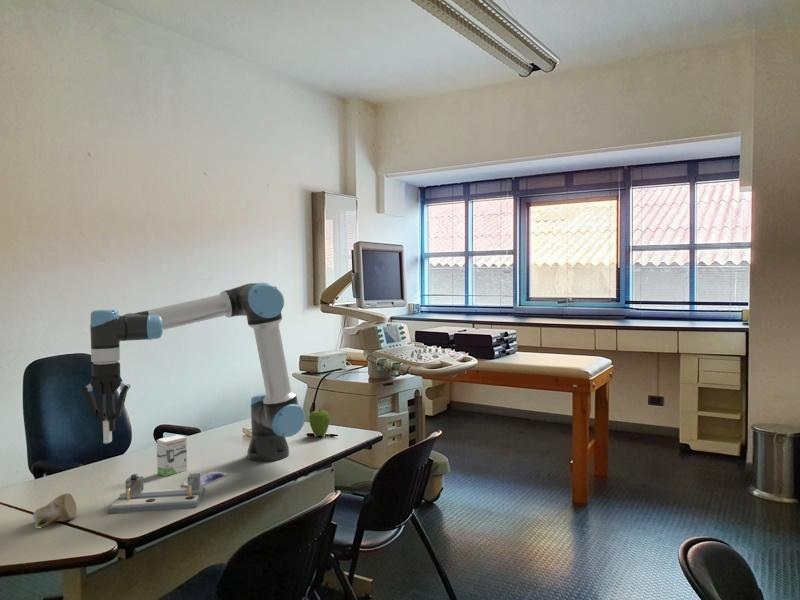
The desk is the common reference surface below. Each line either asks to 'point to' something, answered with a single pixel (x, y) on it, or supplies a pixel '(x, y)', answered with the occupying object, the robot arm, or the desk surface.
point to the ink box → (171, 455)
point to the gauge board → (161, 498)
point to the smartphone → (208, 478)
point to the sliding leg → (134, 485)
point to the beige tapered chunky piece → (56, 510)
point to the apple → (319, 422)
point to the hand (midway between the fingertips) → (107, 442)
